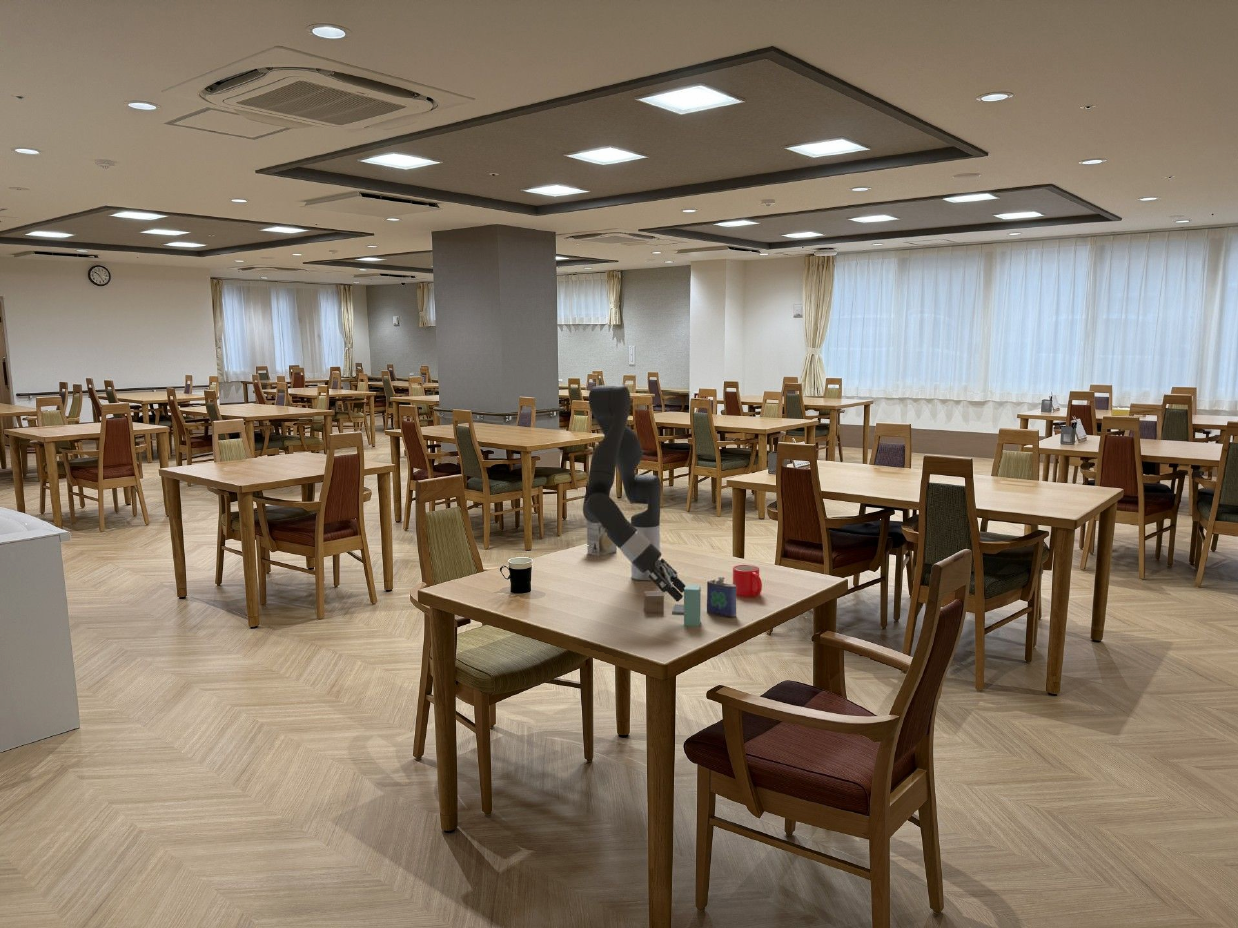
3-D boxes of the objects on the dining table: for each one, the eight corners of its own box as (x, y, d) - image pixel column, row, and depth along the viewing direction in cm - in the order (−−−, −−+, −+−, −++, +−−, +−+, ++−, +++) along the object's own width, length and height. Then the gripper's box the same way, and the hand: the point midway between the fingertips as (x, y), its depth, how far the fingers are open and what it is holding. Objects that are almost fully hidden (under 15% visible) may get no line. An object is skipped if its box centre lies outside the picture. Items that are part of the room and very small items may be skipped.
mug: (750, 602, 251) (750, 575, 250) (727, 591, 262) (727, 566, 261) (772, 598, 255) (773, 572, 254) (749, 588, 266) (749, 563, 264)
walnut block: (644, 608, 247) (644, 591, 247) (661, 607, 248) (661, 590, 247) (646, 613, 242) (645, 596, 242) (663, 612, 243) (663, 595, 242)
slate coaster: (675, 608, 248) (675, 604, 248) (699, 609, 247) (699, 605, 247) (672, 615, 242) (672, 611, 241) (697, 616, 240) (697, 612, 240)
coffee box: (604, 549, 318) (603, 506, 316) (617, 551, 314) (616, 508, 312) (586, 553, 312) (585, 509, 309) (599, 556, 307) (598, 512, 305)
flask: (738, 616, 239) (738, 578, 237) (732, 619, 236) (732, 580, 235) (709, 610, 244) (709, 573, 243) (704, 612, 242) (703, 575, 241)
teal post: (685, 620, 235) (685, 585, 234) (700, 621, 235) (700, 585, 233) (683, 625, 232) (683, 589, 230) (698, 626, 231) (698, 589, 229)
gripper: (645, 548, 225) (689, 593, 225) (654, 536, 239) (695, 578, 238) (625, 567, 227) (669, 611, 226) (635, 554, 241) (676, 596, 240)
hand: (682, 594), depth 232 cm, fingers open, 8 cm apart
